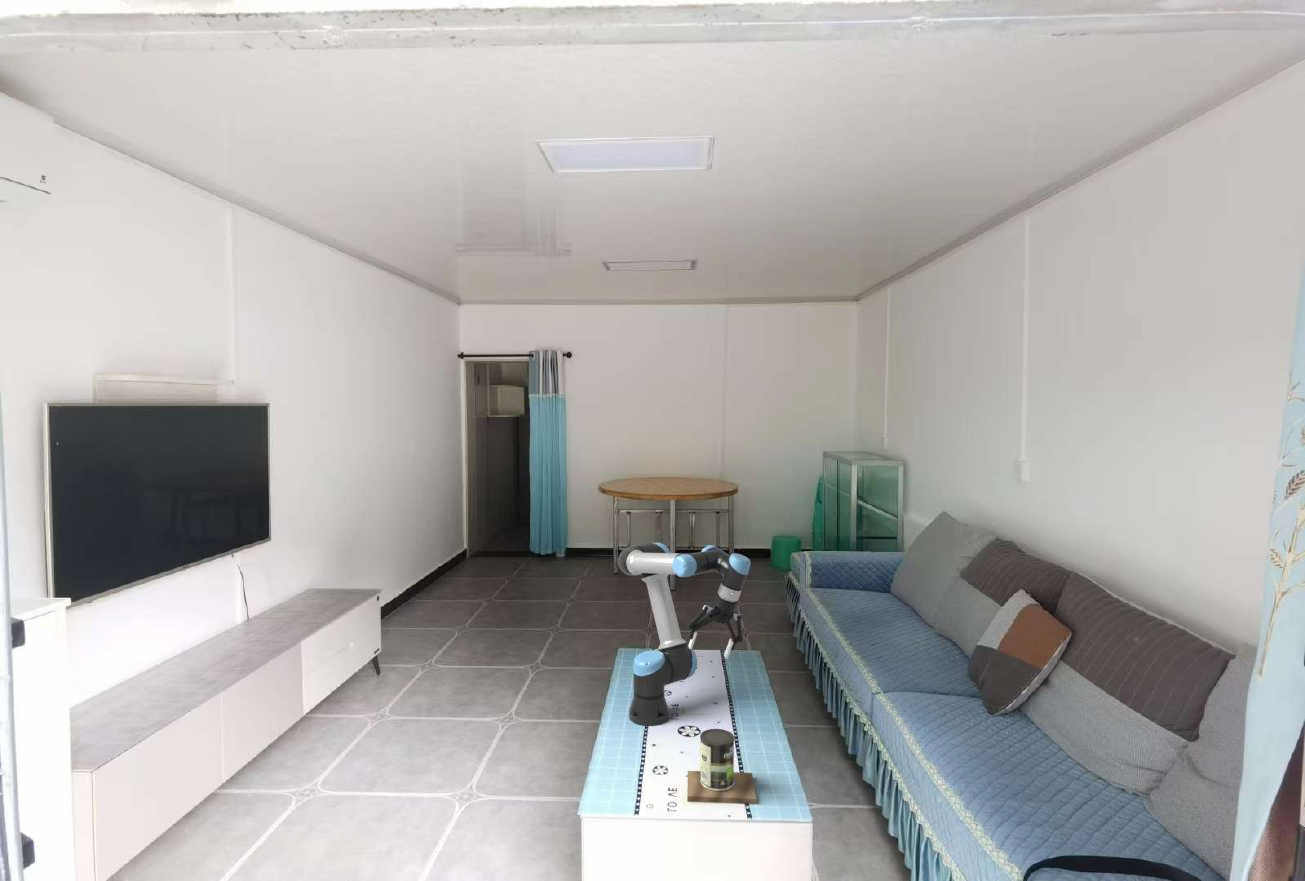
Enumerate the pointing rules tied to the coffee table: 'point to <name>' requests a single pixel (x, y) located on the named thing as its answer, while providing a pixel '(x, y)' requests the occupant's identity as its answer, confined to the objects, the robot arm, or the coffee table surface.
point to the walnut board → (736, 794)
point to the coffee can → (717, 759)
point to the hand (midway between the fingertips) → (707, 652)
